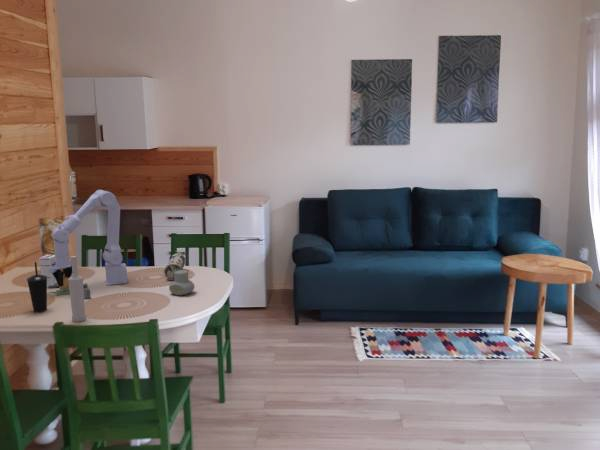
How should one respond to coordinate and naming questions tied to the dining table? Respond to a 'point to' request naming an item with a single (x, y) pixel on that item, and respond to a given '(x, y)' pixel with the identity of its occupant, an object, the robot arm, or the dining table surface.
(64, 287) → the plug
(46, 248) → the pancake mix bag
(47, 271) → the syrup box
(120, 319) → the dining table surface
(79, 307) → the bottle
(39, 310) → the drinking cup
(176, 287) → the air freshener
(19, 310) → the dining table surface
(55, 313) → the dining table surface
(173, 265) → the pencil case
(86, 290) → the channel
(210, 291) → the dining table surface
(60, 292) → the mat
